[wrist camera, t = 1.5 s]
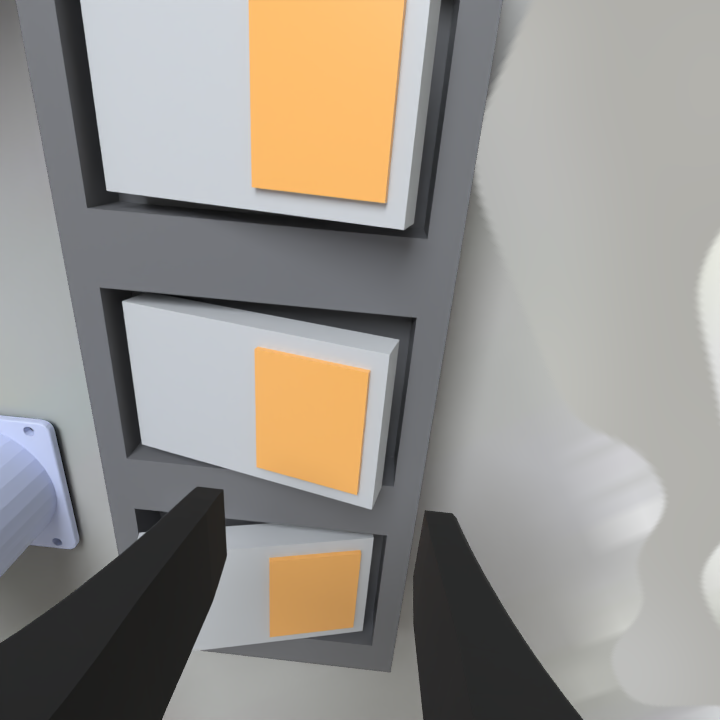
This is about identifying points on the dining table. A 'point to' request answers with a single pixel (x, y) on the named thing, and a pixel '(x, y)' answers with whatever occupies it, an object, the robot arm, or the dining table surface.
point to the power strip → (265, 303)
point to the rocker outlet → (265, 102)
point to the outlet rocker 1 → (263, 394)
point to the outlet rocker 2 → (287, 585)
